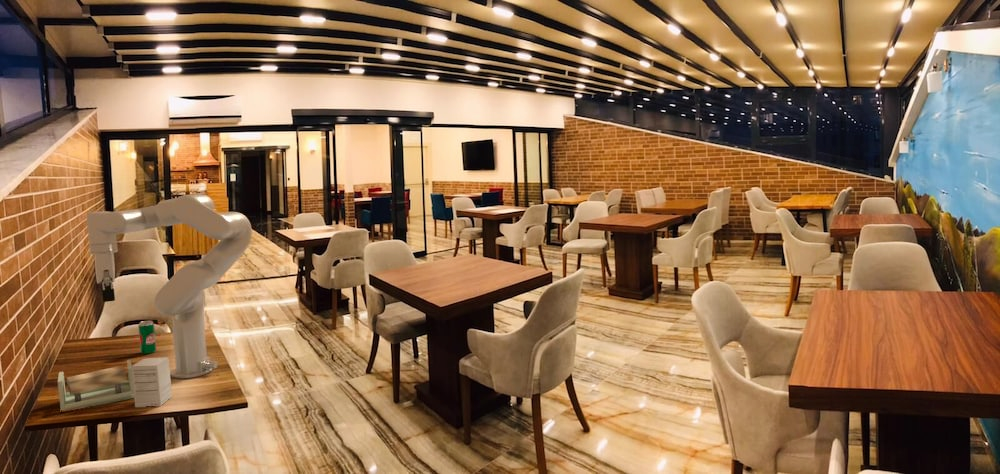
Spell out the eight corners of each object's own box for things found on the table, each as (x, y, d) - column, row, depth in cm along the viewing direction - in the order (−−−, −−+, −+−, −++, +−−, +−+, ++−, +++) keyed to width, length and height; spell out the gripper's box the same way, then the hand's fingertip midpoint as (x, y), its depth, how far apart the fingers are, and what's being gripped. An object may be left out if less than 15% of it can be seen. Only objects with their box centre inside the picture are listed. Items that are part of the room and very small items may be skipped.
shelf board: (123, 377, 177) (121, 365, 177) (127, 381, 174) (125, 369, 173) (68, 390, 167) (66, 377, 167) (71, 394, 164) (69, 381, 163)
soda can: (149, 354, 213) (146, 323, 211) (137, 354, 214) (134, 323, 212) (159, 350, 218) (156, 320, 216) (148, 350, 219) (145, 320, 217)
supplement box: (147, 398, 171) (143, 357, 169) (173, 396, 172) (169, 356, 170) (134, 408, 164) (130, 366, 162) (160, 406, 164) (156, 364, 163)
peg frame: (132, 385, 181) (130, 358, 180) (135, 397, 171) (132, 369, 170) (62, 399, 170) (59, 371, 169) (60, 413, 161) (57, 382, 160)
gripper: (89, 247, 192) (94, 296, 194) (89, 252, 178) (95, 305, 180) (116, 245, 197) (121, 293, 199) (118, 250, 183) (123, 301, 185)
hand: (108, 298), depth 189 cm, fingers open, 9 cm apart
